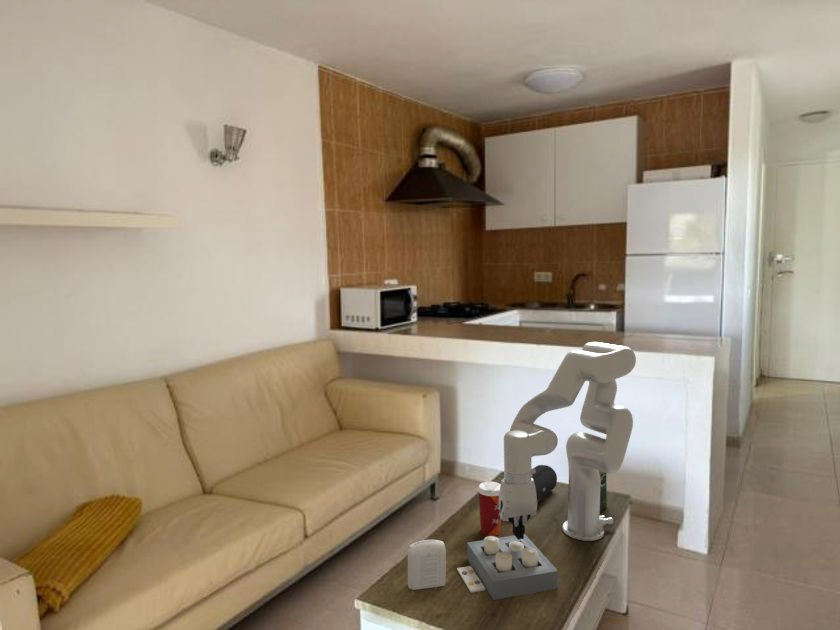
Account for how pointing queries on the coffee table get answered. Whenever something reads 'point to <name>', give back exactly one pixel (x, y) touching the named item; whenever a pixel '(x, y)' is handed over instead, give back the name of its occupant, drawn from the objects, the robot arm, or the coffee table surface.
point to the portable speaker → (544, 480)
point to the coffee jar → (603, 490)
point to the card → (471, 579)
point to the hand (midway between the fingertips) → (518, 536)
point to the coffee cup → (489, 508)
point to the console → (511, 581)
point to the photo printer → (426, 564)
